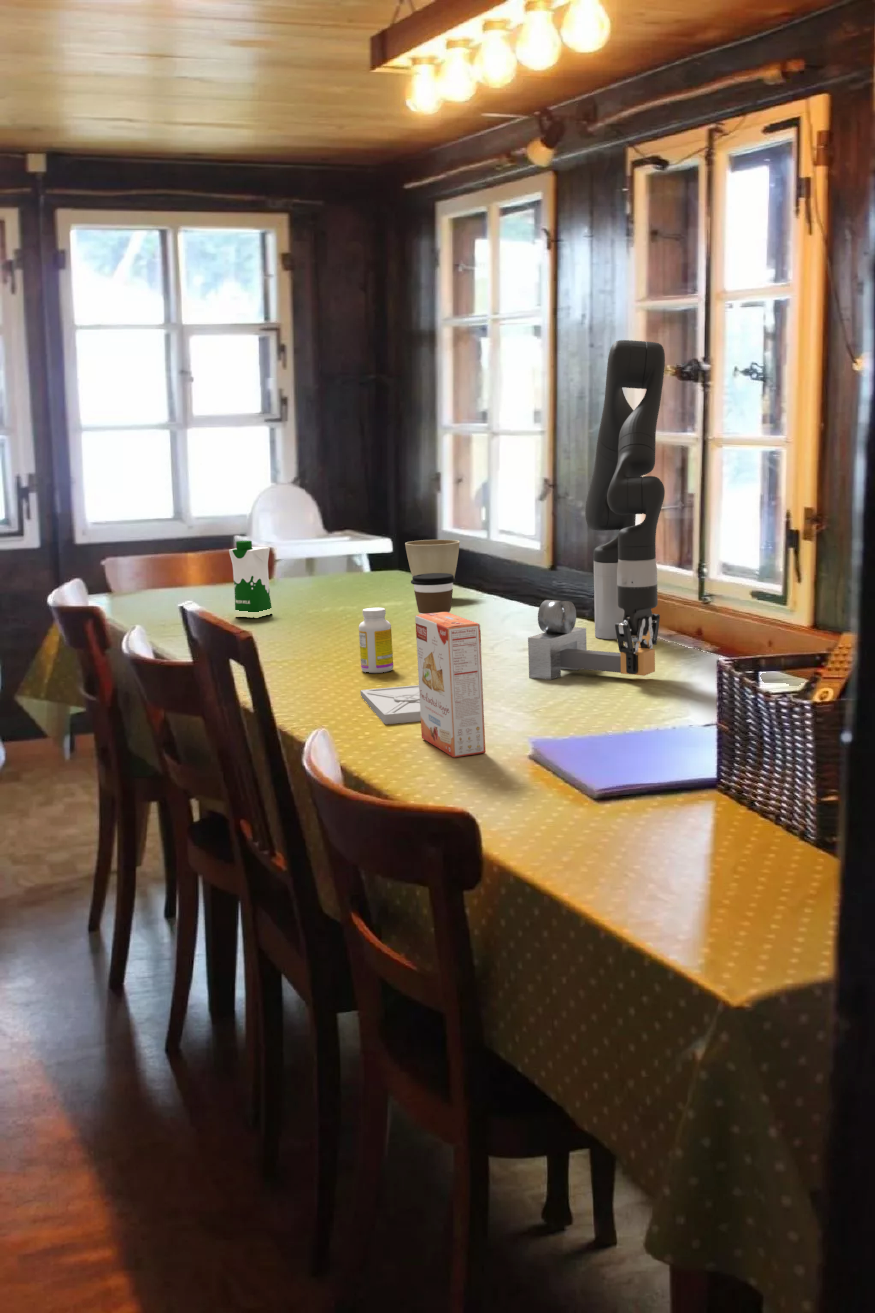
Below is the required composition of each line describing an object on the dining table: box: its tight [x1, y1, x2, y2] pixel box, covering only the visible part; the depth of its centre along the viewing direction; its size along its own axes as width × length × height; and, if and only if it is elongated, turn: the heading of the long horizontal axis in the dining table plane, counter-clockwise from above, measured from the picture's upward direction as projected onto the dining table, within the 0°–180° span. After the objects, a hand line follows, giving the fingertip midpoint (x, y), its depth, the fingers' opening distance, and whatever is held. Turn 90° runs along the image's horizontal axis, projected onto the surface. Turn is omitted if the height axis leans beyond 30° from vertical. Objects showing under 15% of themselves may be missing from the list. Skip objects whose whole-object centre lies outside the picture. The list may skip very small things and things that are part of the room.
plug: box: [560, 648, 656, 677], centre depth 270 cm, size 19×4×4 cm, turn 54°
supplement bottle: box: [358, 607, 394, 674], centre depth 285 cm, size 7×7×13 cm
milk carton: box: [228, 540, 273, 612], centre depth 363 cm, size 9×9×20 cm
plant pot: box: [404, 539, 461, 577], centre depth 379 cm, size 15×15×16 cm
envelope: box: [360, 684, 421, 725], centre depth 252 cm, size 24×2×14 cm
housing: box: [527, 599, 588, 681], centre depth 276 cm, size 14×5×14 cm, turn 144°
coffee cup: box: [410, 573, 457, 615], centre depth 340 cm, size 11×11×12 cm
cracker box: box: [414, 612, 486, 758], centre depth 220 cm, size 14×6×21 cm, turn 21°
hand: (638, 670), depth 266 cm, fingers closed on plug, 4 cm apart
